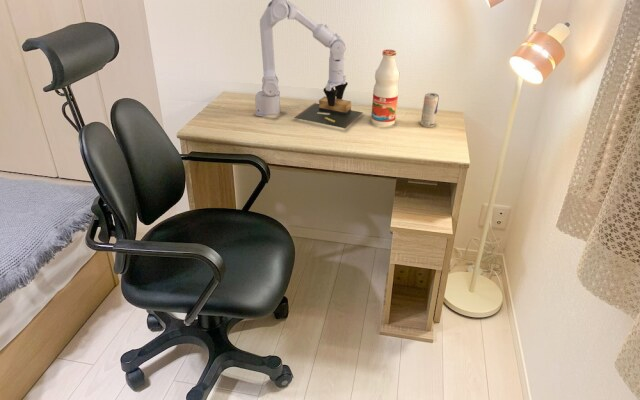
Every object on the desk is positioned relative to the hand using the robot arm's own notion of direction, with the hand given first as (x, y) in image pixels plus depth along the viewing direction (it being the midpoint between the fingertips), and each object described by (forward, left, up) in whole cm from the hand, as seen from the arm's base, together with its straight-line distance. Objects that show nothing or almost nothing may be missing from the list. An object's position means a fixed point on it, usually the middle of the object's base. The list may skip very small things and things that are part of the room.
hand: (335, 102), depth 193 cm
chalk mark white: (-3, -6, -3) cm, 7 cm away
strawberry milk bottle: (+21, -1, -5) cm, 22 cm away
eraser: (0, 0, -3) cm, 3 cm away
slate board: (0, -6, -4) cm, 7 cm away
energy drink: (+37, +6, -5) cm, 38 cm away
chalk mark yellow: (+2, -10, -3) cm, 11 cm away
